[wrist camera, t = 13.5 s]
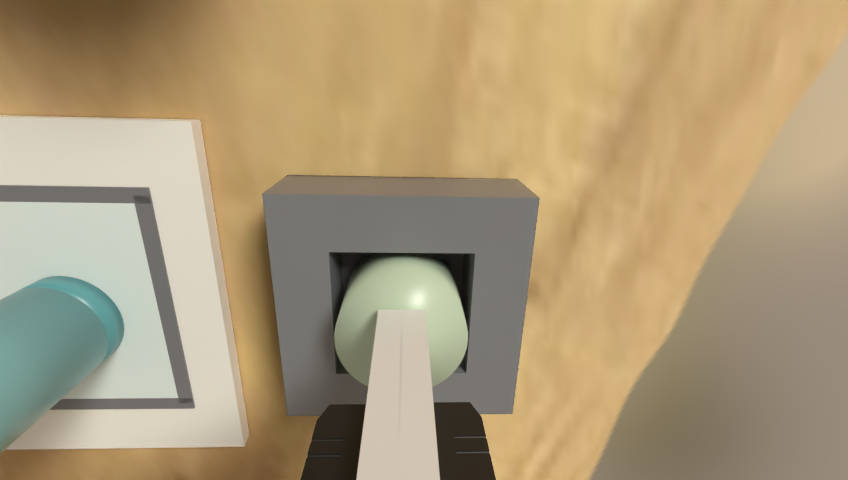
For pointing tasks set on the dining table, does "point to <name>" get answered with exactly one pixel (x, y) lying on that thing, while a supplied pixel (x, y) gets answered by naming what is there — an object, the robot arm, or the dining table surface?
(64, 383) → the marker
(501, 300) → the button housing
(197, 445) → the picture board
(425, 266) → the button
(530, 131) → the dining table surface
